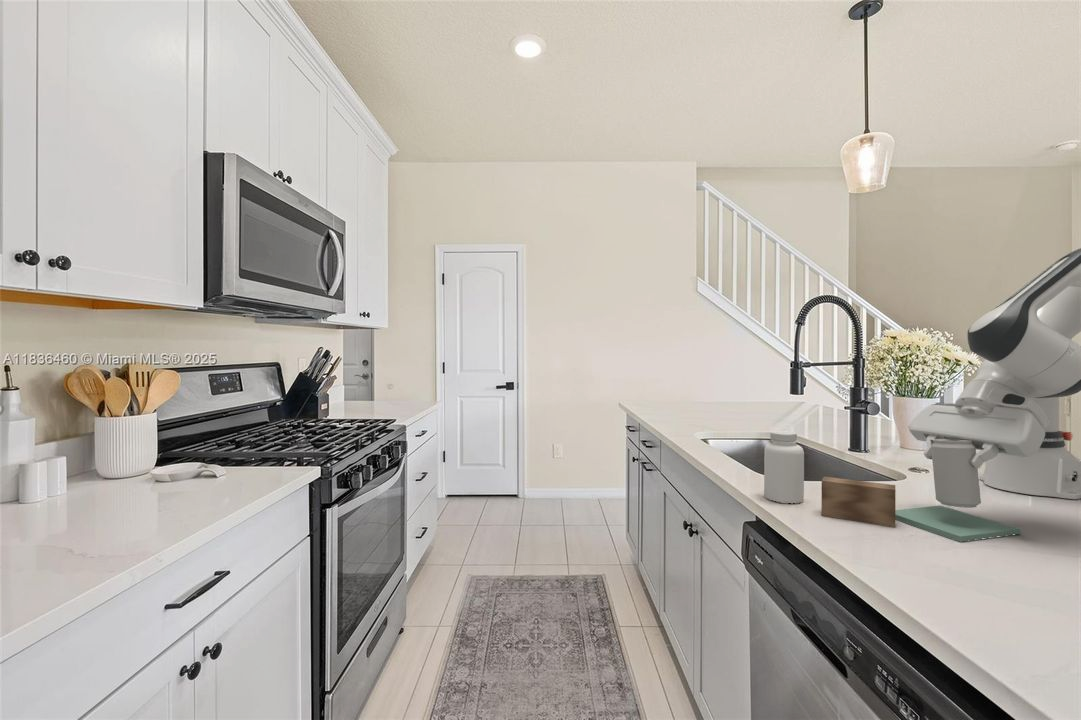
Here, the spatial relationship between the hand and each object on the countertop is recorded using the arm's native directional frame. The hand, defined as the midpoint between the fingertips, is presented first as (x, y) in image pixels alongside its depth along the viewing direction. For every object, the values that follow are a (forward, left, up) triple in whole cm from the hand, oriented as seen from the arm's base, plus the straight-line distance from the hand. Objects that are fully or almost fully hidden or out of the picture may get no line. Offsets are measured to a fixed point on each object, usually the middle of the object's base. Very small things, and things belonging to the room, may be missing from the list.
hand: (949, 461), depth 92 cm
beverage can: (0, +1, -8) cm, 8 cm away
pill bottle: (+17, -22, -12) cm, 31 cm away
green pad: (-1, 0, -12) cm, 12 cm away
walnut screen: (+13, -8, -12) cm, 19 cm away
